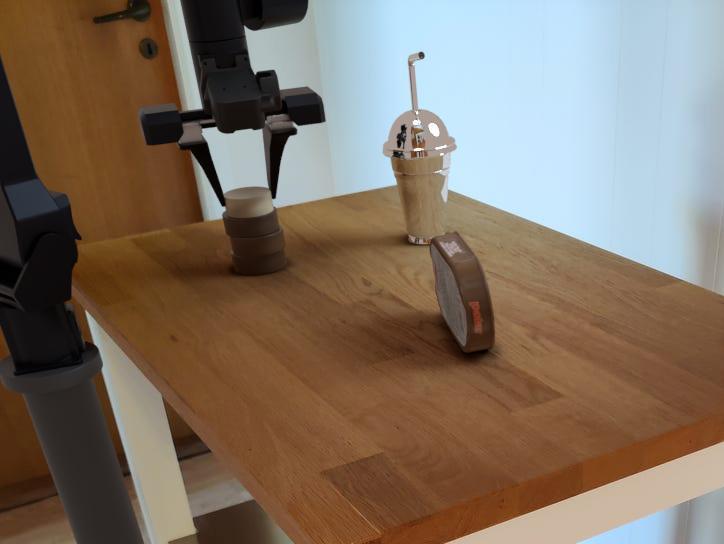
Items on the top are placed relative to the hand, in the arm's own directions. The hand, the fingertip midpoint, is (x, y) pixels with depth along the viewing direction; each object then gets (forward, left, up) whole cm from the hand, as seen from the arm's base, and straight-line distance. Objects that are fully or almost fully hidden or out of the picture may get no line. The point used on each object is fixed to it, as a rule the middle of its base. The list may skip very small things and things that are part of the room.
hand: (248, 202), depth 109 cm
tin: (+14, -31, -7) cm, 35 cm away
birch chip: (0, 0, -1) cm, 1 cm away
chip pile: (0, 0, -7) cm, 7 cm away
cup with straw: (+20, 0, -7) cm, 21 cm away
